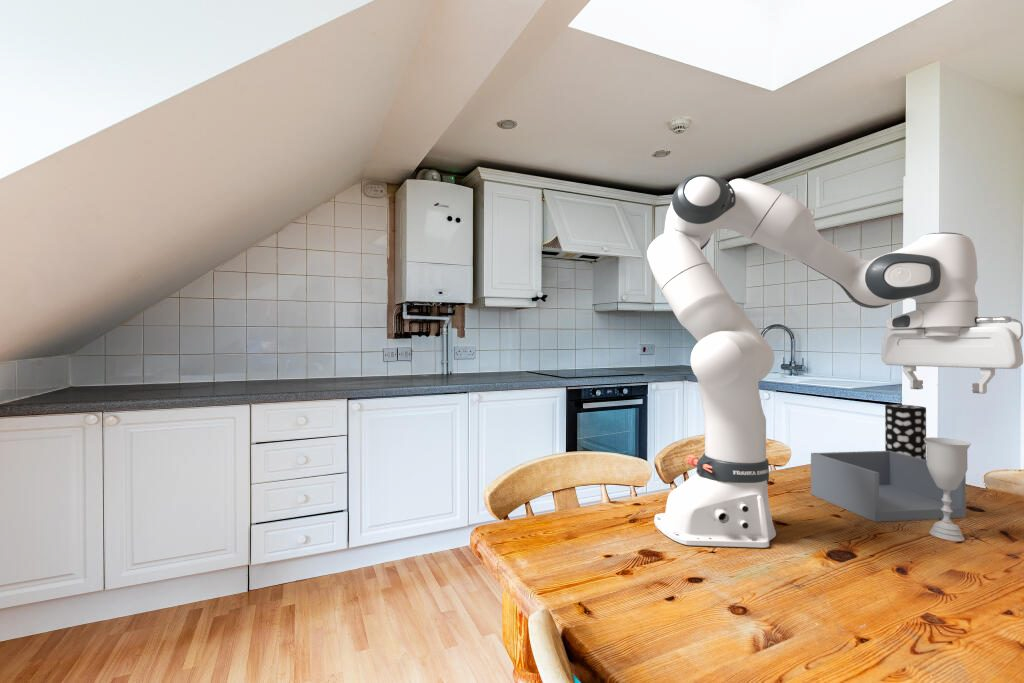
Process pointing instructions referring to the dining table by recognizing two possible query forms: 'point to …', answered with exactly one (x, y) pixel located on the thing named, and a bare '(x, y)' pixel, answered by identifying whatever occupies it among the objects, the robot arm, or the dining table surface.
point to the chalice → (947, 479)
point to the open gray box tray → (882, 486)
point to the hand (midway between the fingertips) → (946, 391)
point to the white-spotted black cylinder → (905, 430)
